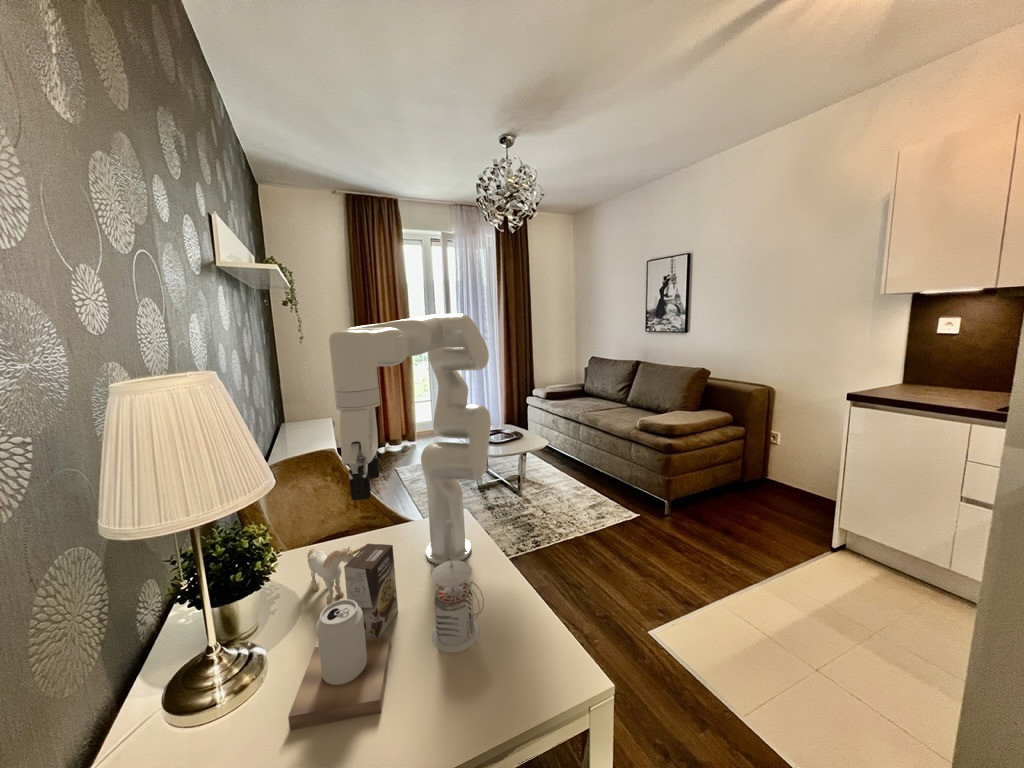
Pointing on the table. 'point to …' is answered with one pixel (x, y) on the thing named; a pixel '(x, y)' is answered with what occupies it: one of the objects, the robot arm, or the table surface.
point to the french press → (456, 623)
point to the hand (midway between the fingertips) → (366, 487)
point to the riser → (342, 690)
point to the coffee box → (373, 586)
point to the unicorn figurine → (329, 568)
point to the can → (341, 642)
